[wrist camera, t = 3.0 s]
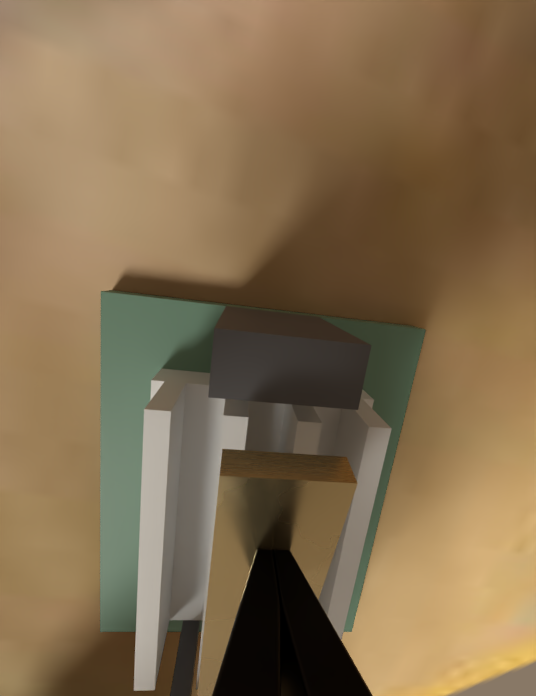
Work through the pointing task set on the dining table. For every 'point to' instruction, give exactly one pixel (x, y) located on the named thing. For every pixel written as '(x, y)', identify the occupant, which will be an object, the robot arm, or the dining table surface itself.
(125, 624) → the heatsink board
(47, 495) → the dining table surface
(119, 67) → the dining table surface
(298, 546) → the wooden plank
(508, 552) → the dining table surface
